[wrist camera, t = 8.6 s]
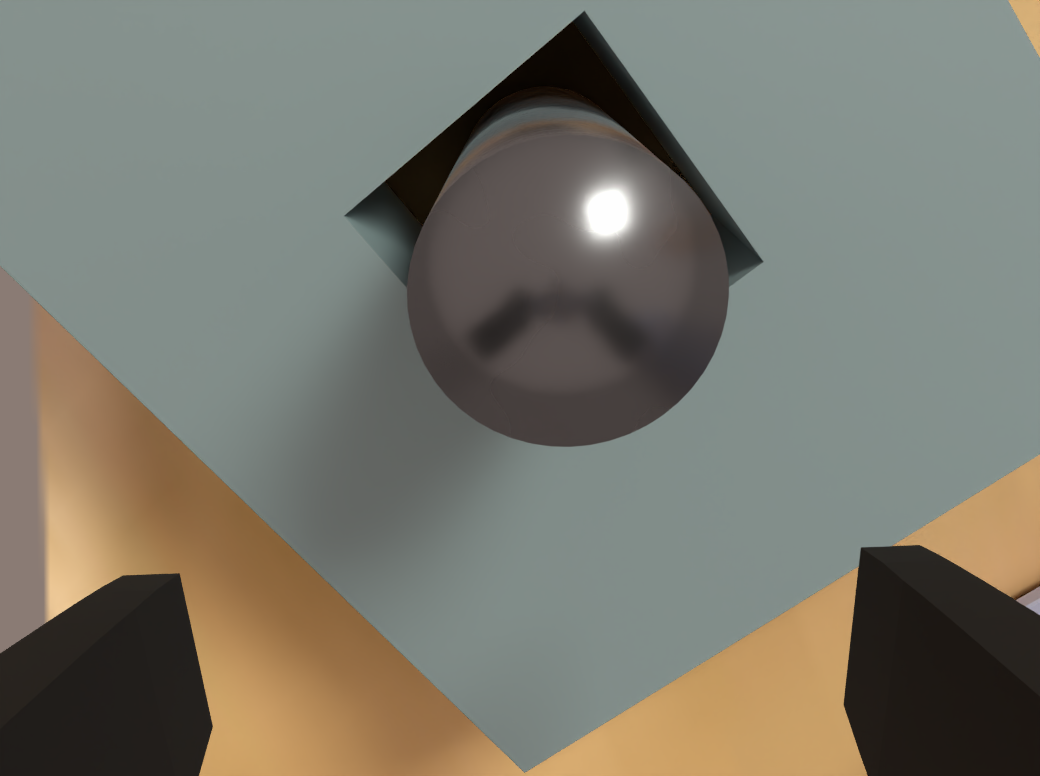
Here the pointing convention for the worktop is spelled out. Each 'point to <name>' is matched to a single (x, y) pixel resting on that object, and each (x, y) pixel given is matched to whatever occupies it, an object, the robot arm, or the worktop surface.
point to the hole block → (442, 424)
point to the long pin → (565, 276)
